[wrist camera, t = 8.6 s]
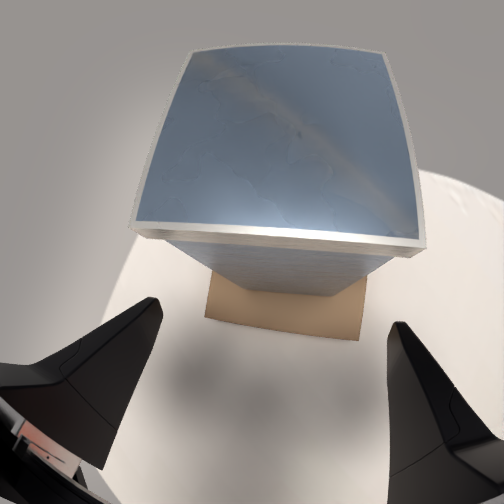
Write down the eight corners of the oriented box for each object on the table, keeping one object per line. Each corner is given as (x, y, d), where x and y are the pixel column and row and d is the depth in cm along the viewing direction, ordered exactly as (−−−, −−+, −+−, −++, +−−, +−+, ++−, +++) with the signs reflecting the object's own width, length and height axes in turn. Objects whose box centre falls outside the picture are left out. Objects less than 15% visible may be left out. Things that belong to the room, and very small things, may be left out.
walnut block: (351, 336, 18) (358, 341, 16) (218, 317, 21) (204, 317, 18) (363, 206, 20) (371, 190, 17) (240, 193, 22) (231, 177, 20)
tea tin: (334, 299, 16) (426, 248, 4) (241, 291, 17) (128, 227, 5) (338, 210, 18) (385, 52, 6) (251, 204, 19) (189, 50, 7)
